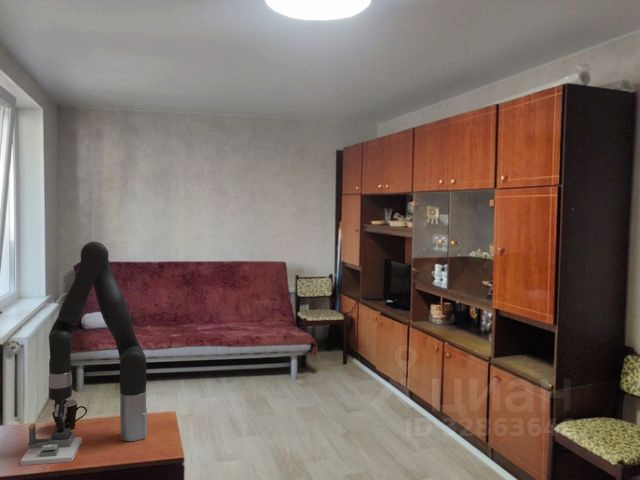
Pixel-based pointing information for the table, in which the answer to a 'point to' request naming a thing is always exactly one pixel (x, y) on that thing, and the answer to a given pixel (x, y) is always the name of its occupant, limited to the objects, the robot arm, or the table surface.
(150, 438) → the table surface
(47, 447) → the rocker switch
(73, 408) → the coffee mug
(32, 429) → the paddle slider
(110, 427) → the table surface
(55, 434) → the push button
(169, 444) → the table surface
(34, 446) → the panel
